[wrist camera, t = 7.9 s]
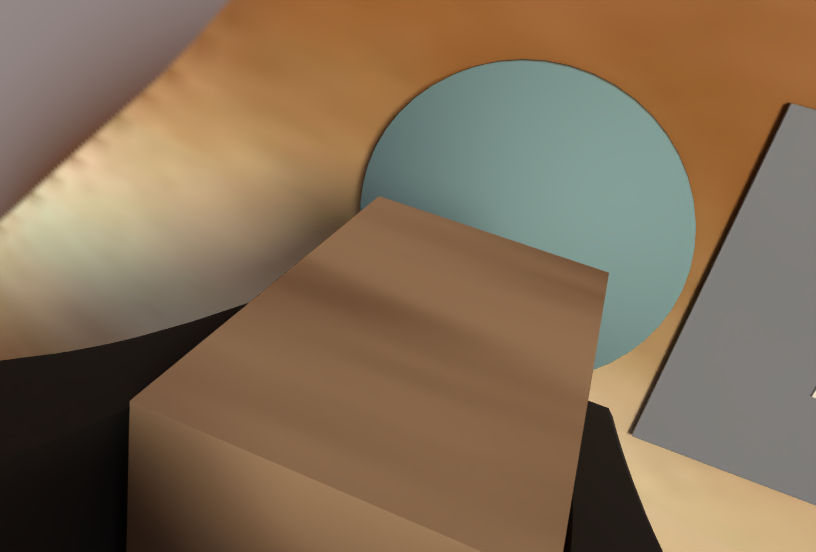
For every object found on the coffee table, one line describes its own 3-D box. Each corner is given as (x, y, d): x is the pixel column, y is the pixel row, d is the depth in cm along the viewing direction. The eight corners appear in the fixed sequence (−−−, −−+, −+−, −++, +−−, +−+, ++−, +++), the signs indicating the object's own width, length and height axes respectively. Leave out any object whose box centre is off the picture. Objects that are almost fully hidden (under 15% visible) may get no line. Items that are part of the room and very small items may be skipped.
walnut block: (535, 457, 14) (441, 827, 8) (341, 380, 15) (123, 663, 9) (608, 272, 12) (557, 584, 6) (379, 196, 13) (129, 400, 7)
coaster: (621, 413, 20) (620, 423, 20) (343, 310, 22) (337, 317, 21) (758, 117, 16) (760, 121, 15) (401, 18, 18) (394, 20, 17)
